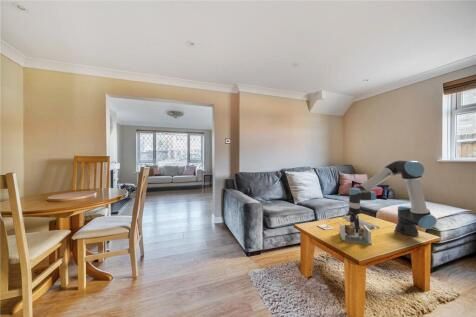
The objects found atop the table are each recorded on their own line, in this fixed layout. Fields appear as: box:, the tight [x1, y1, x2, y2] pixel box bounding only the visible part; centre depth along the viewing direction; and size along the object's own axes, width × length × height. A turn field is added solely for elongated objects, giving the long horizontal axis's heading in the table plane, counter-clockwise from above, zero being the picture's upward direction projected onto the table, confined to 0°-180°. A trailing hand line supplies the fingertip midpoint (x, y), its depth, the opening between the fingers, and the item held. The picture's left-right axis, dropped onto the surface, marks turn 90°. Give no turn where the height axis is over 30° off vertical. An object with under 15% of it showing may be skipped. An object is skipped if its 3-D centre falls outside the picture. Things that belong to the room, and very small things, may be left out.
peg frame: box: [338, 222, 373, 246], centre depth 149 cm, size 20×14×10 cm
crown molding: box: [342, 214, 380, 230], centre depth 184 cm, size 31×12×4 cm, turn 15°
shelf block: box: [344, 224, 364, 236], centre depth 149 cm, size 12×6×6 cm, turn 78°
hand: (354, 233), depth 149 cm, fingers open, 13 cm apart
